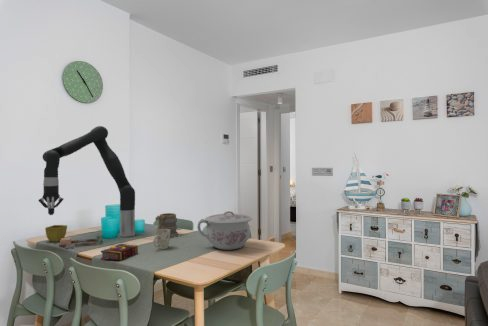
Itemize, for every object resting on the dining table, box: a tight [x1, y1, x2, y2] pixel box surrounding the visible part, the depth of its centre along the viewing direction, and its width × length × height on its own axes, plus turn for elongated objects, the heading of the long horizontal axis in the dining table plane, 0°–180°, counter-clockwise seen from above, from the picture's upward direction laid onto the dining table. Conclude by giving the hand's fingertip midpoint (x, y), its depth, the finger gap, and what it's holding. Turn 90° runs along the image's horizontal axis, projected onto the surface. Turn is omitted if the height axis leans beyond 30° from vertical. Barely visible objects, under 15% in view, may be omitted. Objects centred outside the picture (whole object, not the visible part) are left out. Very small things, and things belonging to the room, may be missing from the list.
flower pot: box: [44, 224, 68, 243], centre depth 198 cm, size 9×9×9 cm
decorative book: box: [100, 243, 139, 262], centre depth 165 cm, size 11×16×5 cm
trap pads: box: [64, 239, 87, 250], centre depth 189 cm, size 5×20×1 cm, turn 0°
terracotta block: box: [59, 237, 72, 246], centre depth 188 cm, size 5×5×4 cm
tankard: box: [154, 212, 179, 238], centre depth 210 cm, size 20×13×15 cm, turn 159°
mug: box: [153, 229, 171, 250], centre depth 180 cm, size 8×13×10 cm, turn 161°
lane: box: [58, 232, 103, 248], centre depth 190 cm, size 22×10×5 cm, turn 110°
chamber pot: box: [196, 211, 253, 251], centre depth 184 cm, size 28×28×21 cm
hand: (51, 214), depth 185 cm, fingers closed
